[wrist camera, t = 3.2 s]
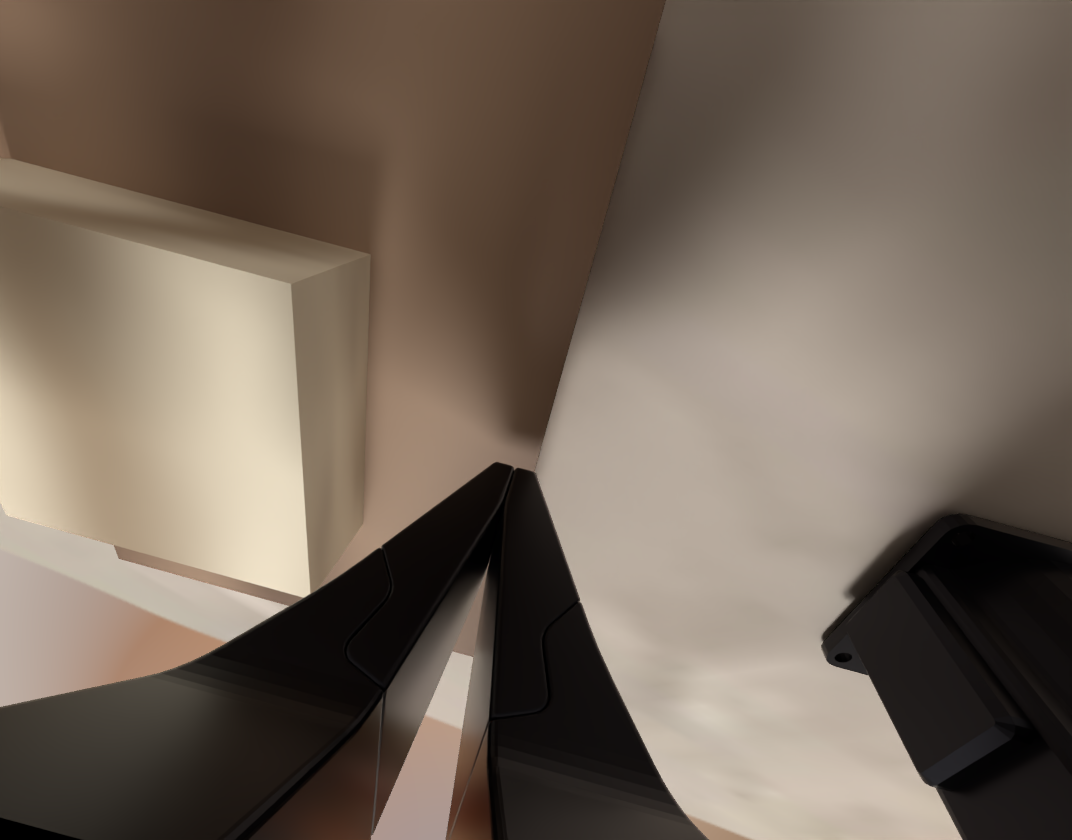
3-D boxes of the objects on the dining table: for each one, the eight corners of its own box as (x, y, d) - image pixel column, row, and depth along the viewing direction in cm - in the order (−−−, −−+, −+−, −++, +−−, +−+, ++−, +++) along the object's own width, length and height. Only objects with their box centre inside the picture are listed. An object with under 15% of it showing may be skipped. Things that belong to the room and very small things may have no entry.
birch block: (370, 254, 8) (291, 284, 6) (362, 524, 12) (310, 599, 10) (10, 158, 8) (-184, 157, 6) (111, 454, 12) (6, 515, 10)
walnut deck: (654, 32, 8) (669, -15, 6) (498, 593, 16) (482, 659, 14) (23, -130, 8) (-184, -233, 6) (183, 507, 16) (118, 558, 14)
